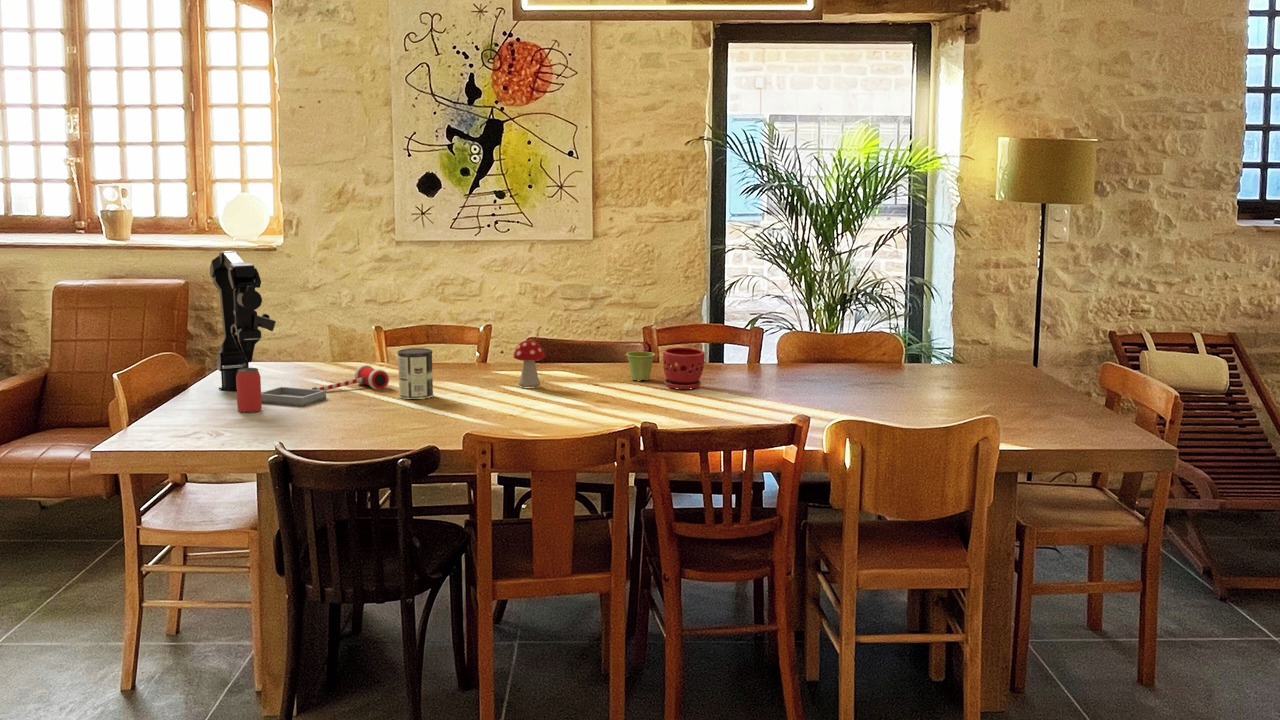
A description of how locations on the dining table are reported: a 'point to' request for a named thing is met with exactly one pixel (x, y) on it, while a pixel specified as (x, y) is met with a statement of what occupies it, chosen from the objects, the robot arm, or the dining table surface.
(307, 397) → the tray
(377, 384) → the toy hammer
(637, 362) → the plant pot
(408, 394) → the coffee can
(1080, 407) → the dining table surface
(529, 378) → the decorative mushroom
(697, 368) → the plant pot
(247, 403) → the beer can
